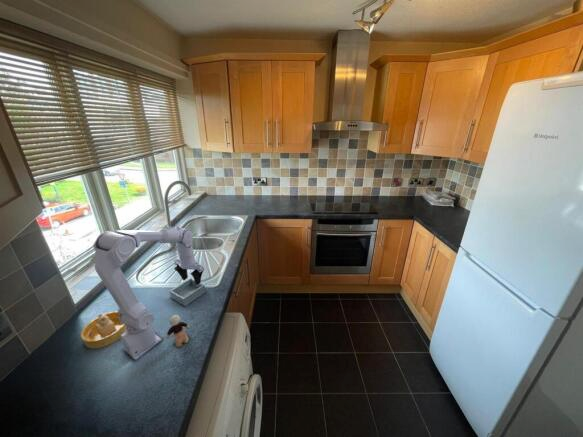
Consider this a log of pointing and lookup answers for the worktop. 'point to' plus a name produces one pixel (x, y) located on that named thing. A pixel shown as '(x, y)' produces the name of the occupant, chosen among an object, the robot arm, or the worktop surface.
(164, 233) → the robot arm
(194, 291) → the tub
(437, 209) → the worktop surface
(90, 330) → the bowl
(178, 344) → the grandmother figurine
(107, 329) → the toy
